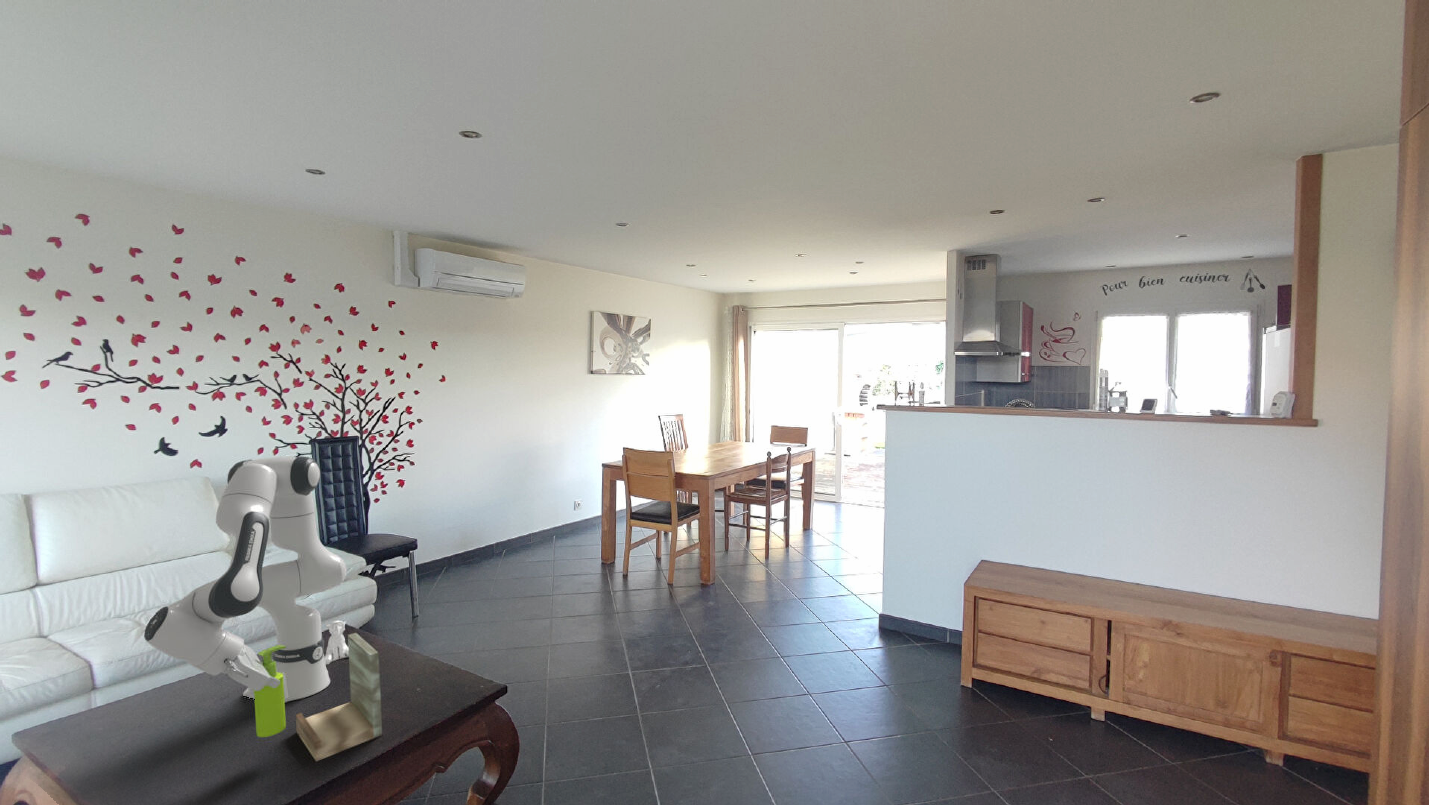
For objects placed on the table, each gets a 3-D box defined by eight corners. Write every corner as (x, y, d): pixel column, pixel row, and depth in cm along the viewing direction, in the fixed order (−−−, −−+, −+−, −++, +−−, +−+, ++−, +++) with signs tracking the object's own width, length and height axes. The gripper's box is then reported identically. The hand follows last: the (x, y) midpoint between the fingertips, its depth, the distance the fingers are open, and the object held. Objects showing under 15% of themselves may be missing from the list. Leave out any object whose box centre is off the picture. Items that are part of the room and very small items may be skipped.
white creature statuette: (323, 666, 201) (322, 629, 201) (317, 657, 207) (315, 622, 207) (356, 656, 208) (355, 621, 207) (349, 648, 214) (348, 614, 213)
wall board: (316, 761, 152) (311, 673, 151) (296, 732, 164) (292, 651, 163) (382, 734, 163) (378, 652, 162) (359, 709, 175) (355, 632, 174)
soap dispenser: (295, 724, 155) (291, 645, 154) (265, 739, 149) (261, 657, 148) (281, 719, 158) (276, 641, 157) (251, 734, 151) (246, 653, 150)
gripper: (241, 656, 139) (295, 681, 147) (225, 628, 154) (274, 653, 161) (217, 682, 137) (273, 707, 144) (203, 652, 151) (254, 676, 158)
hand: (274, 678), depth 153 cm, fingers closed on soap dispenser, 6 cm apart
